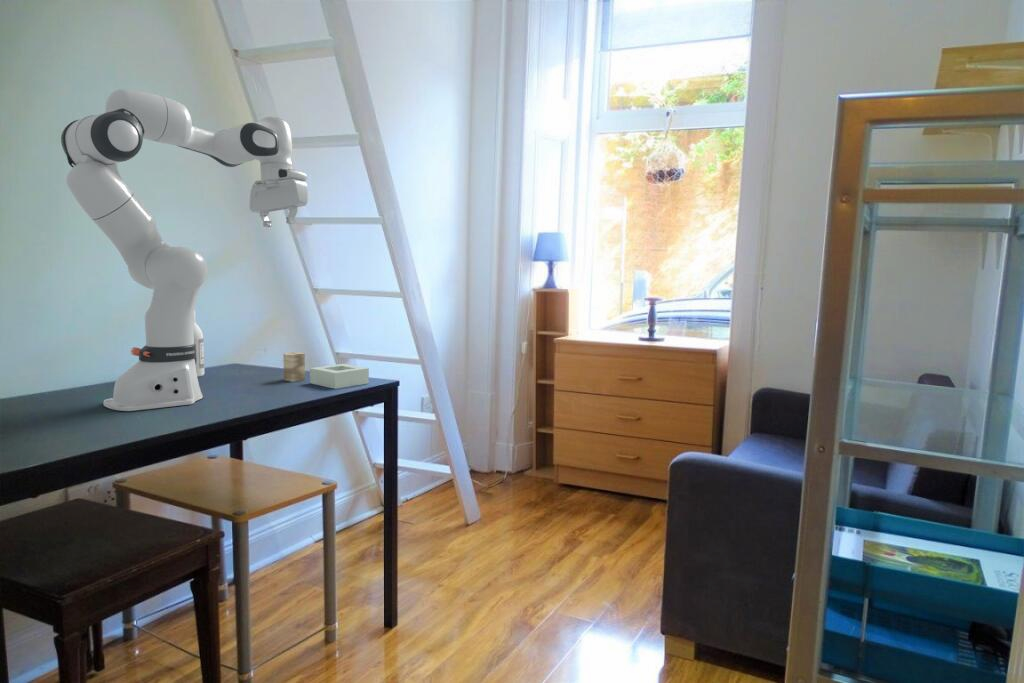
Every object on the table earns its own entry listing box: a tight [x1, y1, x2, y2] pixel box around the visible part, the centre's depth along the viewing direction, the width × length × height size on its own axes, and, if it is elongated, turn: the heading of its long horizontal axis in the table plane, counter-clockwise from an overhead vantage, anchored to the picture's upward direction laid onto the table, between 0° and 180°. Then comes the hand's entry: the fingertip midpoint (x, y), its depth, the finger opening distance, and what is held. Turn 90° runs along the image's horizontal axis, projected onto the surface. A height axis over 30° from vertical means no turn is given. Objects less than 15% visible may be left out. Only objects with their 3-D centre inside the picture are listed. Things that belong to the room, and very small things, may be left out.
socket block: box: [309, 363, 370, 390], centre depth 208 cm, size 12×12×4 cm
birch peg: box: [283, 351, 306, 383], centre depth 212 cm, size 4×4×8 cm
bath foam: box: [193, 309, 205, 378], centre depth 215 cm, size 7×7×20 cm
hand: (278, 225), depth 202 cm, fingers open, 8 cm apart
